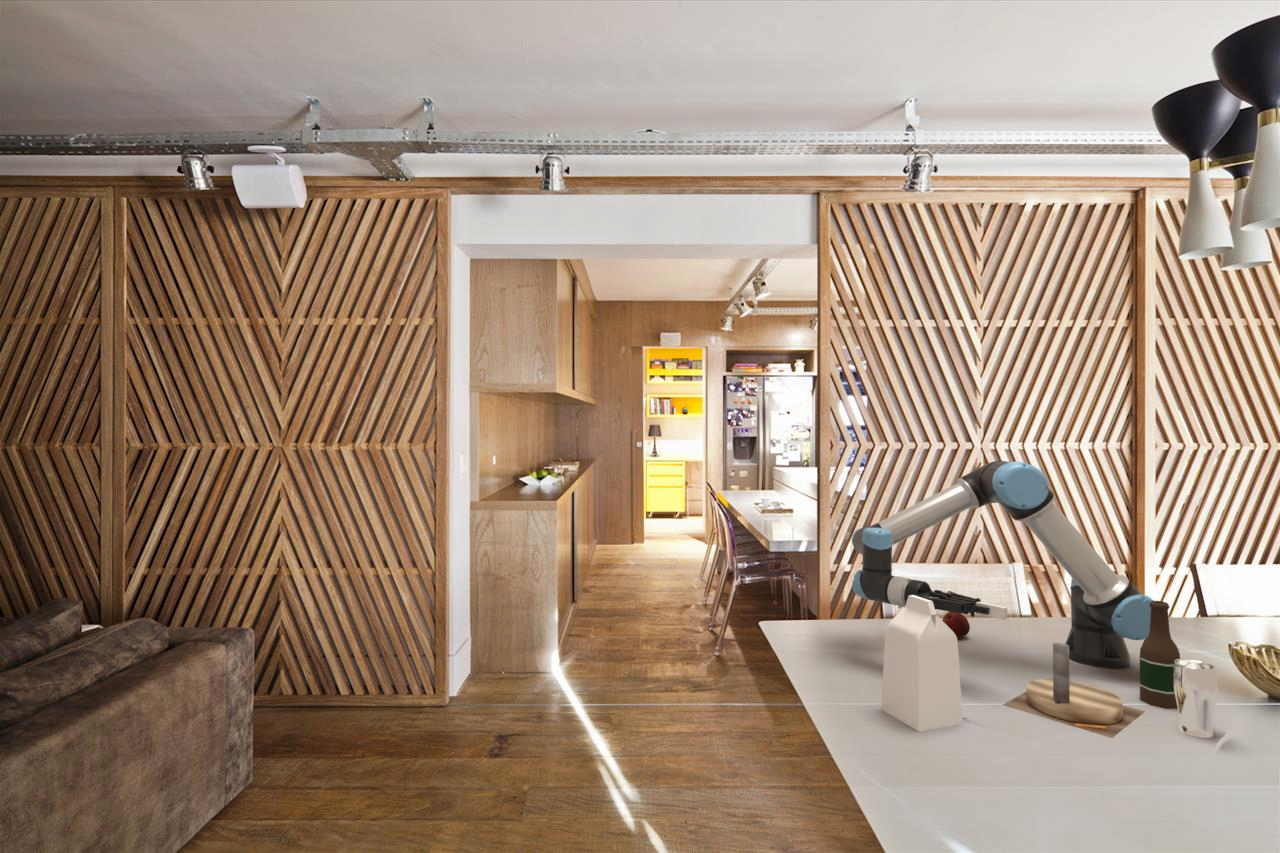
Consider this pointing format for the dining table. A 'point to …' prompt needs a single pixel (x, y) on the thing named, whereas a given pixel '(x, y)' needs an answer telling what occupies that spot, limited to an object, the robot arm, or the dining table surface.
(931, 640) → the milk
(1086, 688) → the cam dial
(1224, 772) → the dining table surface
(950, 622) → the apple
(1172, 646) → the beer bottle
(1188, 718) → the beer glass
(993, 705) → the dining table surface
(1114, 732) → the dial base
